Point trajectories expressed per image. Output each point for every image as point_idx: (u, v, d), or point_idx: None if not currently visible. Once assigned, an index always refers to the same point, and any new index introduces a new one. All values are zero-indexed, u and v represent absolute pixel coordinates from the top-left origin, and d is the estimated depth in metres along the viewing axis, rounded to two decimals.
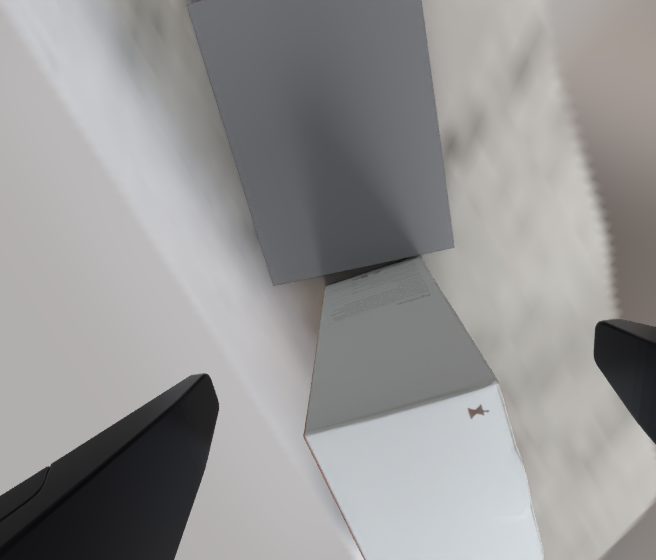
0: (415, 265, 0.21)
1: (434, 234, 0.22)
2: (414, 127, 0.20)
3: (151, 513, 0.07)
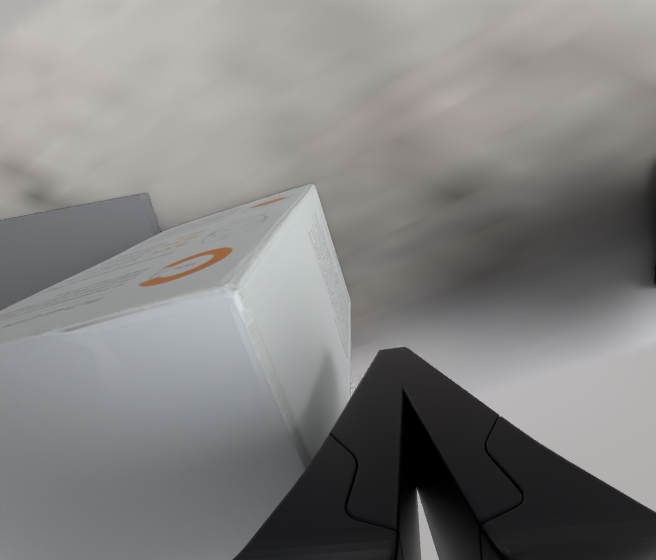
0: None
1: (125, 219, 0.18)
2: (14, 243, 0.18)
3: (412, 489, 0.06)
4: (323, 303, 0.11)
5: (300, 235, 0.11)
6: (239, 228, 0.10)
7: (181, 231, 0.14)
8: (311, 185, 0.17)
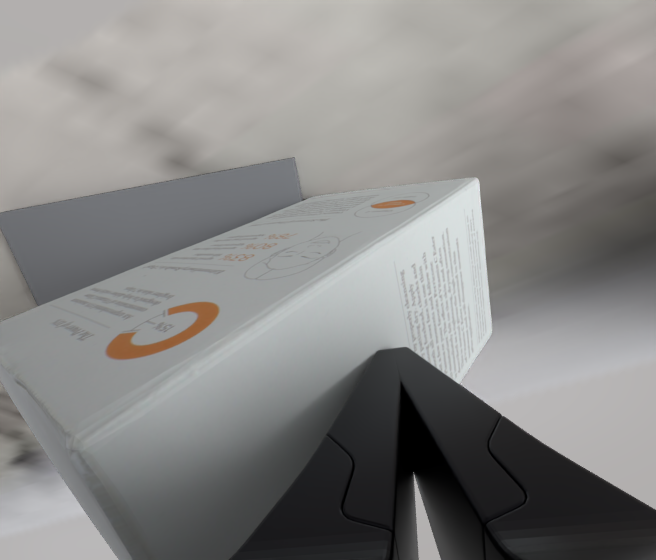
0: None
1: (274, 185, 0.17)
2: (154, 210, 0.18)
3: (410, 489, 0.06)
4: None
5: (366, 286, 0.08)
6: (290, 263, 0.08)
7: (296, 217, 0.13)
8: (470, 181, 0.12)
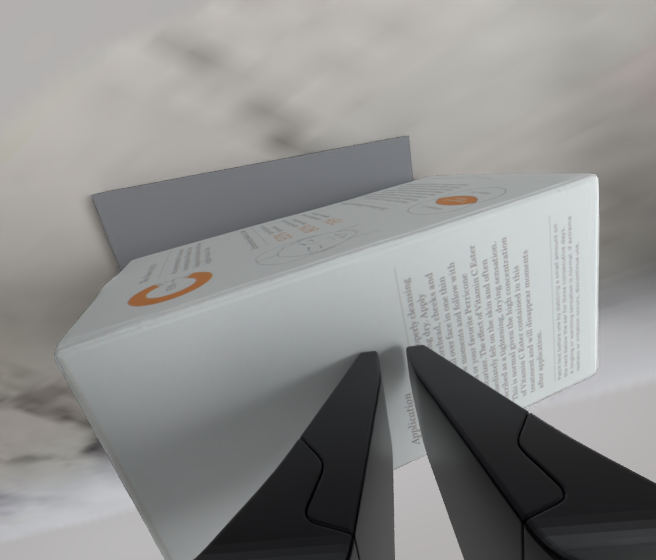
0: None
1: (387, 164, 0.16)
2: (258, 191, 0.17)
3: (385, 491, 0.06)
4: None
5: (347, 288, 0.08)
6: (292, 252, 0.09)
7: (376, 201, 0.13)
8: (576, 180, 0.09)
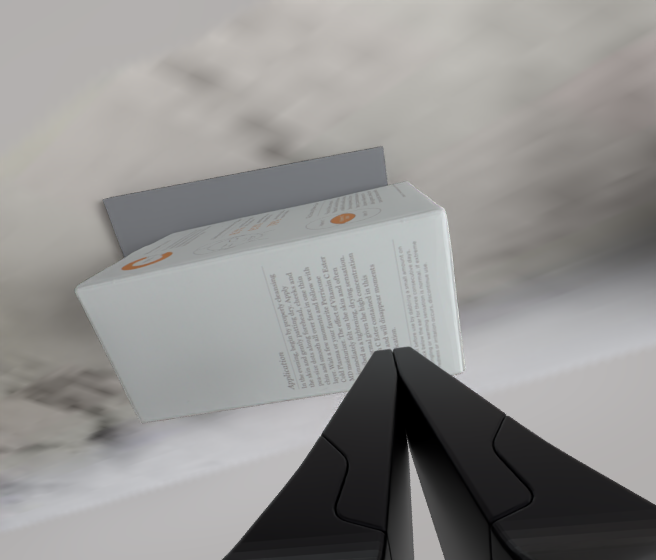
0: None
1: (365, 171, 0.19)
2: (252, 195, 0.20)
3: (405, 489, 0.06)
4: (245, 333, 0.13)
5: (229, 276, 0.13)
6: (215, 246, 0.14)
7: (325, 206, 0.17)
8: (422, 213, 0.12)
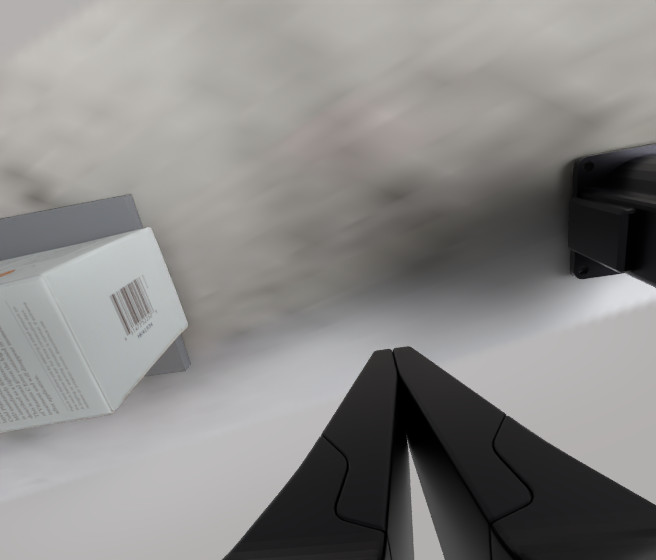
0: None
1: (112, 217, 0.21)
2: (16, 238, 0.21)
3: (405, 489, 0.06)
4: None
5: None
6: None
7: (43, 255, 0.18)
8: (25, 278, 0.13)
